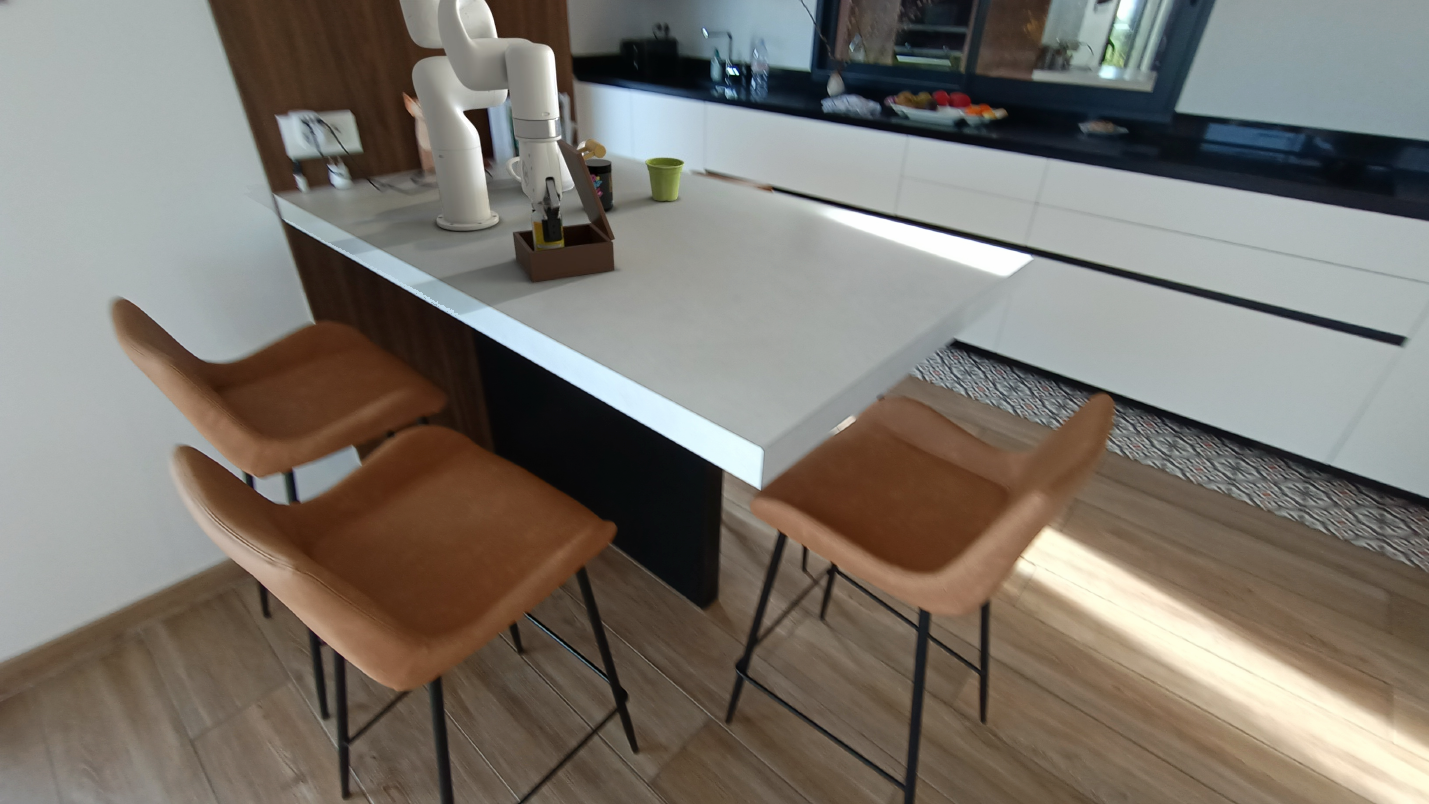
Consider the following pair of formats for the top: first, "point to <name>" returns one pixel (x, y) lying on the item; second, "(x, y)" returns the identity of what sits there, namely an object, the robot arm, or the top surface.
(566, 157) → the brown drawer front
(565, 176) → the teapot
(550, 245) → the supplement bottle
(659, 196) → the plant pot
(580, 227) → the brown box
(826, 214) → the top surface
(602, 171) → the supplement container
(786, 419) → the top surface
